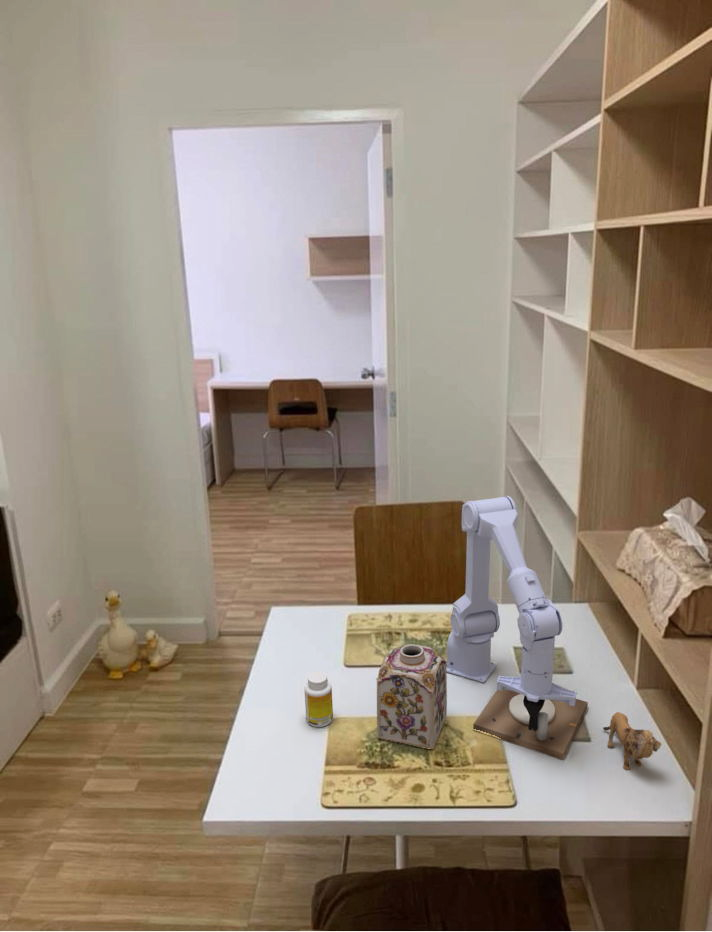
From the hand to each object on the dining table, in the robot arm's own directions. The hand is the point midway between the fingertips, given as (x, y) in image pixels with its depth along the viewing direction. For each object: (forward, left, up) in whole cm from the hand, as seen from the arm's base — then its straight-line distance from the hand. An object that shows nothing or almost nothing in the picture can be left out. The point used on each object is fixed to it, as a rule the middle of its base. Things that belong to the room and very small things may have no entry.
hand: (533, 727), depth 139 cm
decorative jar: (-23, -7, -4) cm, 24 cm away
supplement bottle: (-41, -14, -4) cm, 43 cm away
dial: (-2, +5, -2) cm, 6 cm away
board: (-3, +7, -4) cm, 9 cm away
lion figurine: (+17, +5, -4) cm, 18 cm away
